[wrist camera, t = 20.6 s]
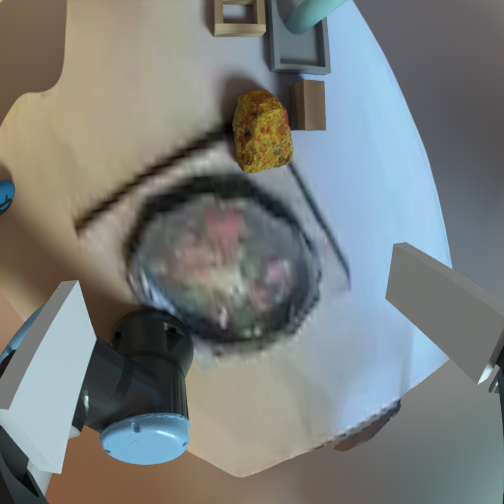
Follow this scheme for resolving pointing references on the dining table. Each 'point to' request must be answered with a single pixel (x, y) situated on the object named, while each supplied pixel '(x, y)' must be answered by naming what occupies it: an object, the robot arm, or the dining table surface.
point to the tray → (296, 42)
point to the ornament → (6, 195)
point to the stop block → (307, 105)
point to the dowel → (310, 14)
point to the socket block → (239, 29)
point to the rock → (261, 132)
